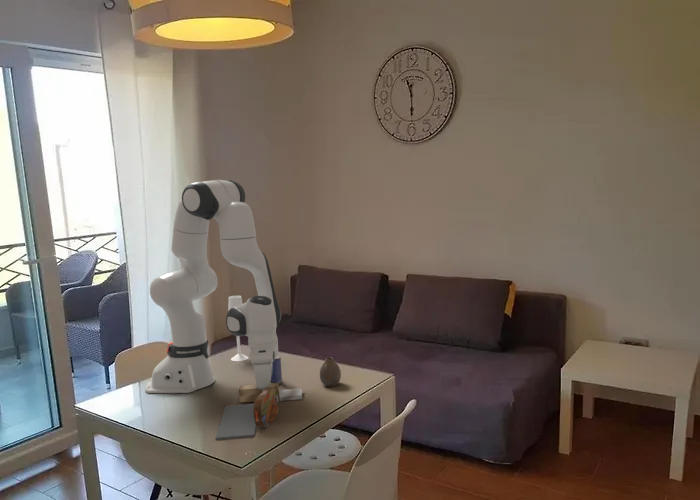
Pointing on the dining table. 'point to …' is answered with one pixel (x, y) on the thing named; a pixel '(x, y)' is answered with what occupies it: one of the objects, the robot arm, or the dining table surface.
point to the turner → (252, 392)
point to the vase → (330, 373)
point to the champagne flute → (239, 357)
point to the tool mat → (237, 422)
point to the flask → (276, 371)
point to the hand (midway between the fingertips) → (266, 393)
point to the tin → (266, 407)
